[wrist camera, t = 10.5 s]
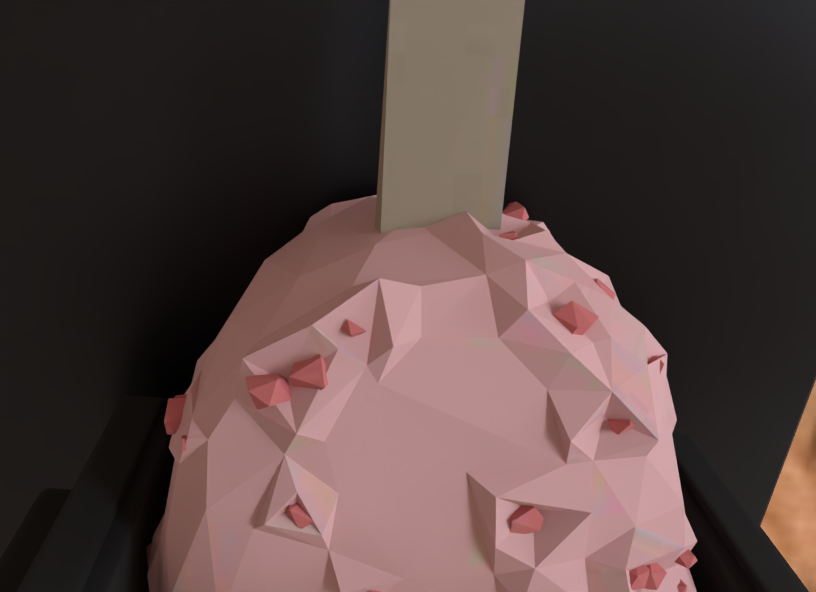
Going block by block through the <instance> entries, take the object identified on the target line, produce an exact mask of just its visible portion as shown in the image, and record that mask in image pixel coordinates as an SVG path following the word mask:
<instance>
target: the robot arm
mask: <svg viewBox="0 0 816 592" xmlns="http://www.w3.org/2000/svg"><path fill="white" fill-rule="evenodd" d="M167 404H168V403H167V399H166V398H159V397H144V396H130V395H125V396H123V397H122V398H121V400H120V402H119V403H118V405H117V407H116V409H115V411H114V413H113V415H112V416H111V418H110V420H109V422H108V424H107V426H106V427H105V429H104V431H103V433H102V435H101V437H100V439H99V440H98V442H97V444H96V446H95V448H94V450H93V451H92V453H91V455H90V457H89V459H88V461H87V463H86V464H85V466H84V468H83V470H82V472H81V474H80V476H79V477H78V479H77V481H76V483H75V485H74V487H73V488H72V489H57V488H47V489H45V490H43V491H42V492H41V493H40V495H39V496H38V497H37V499H36V500H35V502H34V503H33V505H32V507H31V508H30V510H29V512H28V513H27V515H26V517H25V518H24V520H23V522H22V523H21V525H20V527H19V528H18V530H17V532H16V533H15V535H14V537H13V538H12V540H11V542H10V543H9V545H8V547H7V548H6V550H5V552H4V553H3V555H2V557H1V558H0V592H149V584H148V577H147V574H148V567H149V565H147V550H146V547H147V546H149V545H150V544H151V543H152V537H153V535H154V533H155V531H156V529H157V527H158V525H159V523H160V521H161V519H162V517H163V515H164V514H165V509H166V504H167V498H168V493H169V487H170V482H171V476H172V471H173V465H174V460H175V458H174V456H173V455H172V453H171V451H170V449H169V445H170V440H171V436H172V435H169V434H167V433H166V428H165V424H164V419H165V414H166V409H167ZM672 436H673V442H674V448H675V454H676V460H677V466H678V472H679V478H680V484H681V490H682V496H683V502H684V509H685V514H686V517H687V519H688V521H689V523H690V526H691V528H692V530H693V532H694V535H695V537H696V539H697V543H696V544H695V545H694V547H693V548H692V550H691V552H692V553H693V554H694V556H695V557H696V559H697V560H698V561H697V562H696V563H695V564H694V565H693V566H691V567H690V568H689V570H690V573H691V576H692V579H693V582H694V585H695V588H696V591H697V592H809V591H808V590H807V588H806V587H805V586H804V584H803V583H802V582H801V580H800V579H799V578H798V576H797V575H796V574H795V572H794V571H793V570H792V568H791V567H790V566H789V564H788V563H787V562H786V560H785V559H784V558H783V556H782V555H781V554H780V552H779V551H778V550H777V548H776V547H775V546H774V544H773V543H772V542H771V540H770V539H769V537H768V536H767V535H766V533H765V532H764V531H763V529H762V528H761V527H760V525H759V524H758V523H757V521H756V520H755V519H754V517H753V516H752V515H751V513H750V512H749V511H748V509H747V508H746V507H745V505H744V504H743V503H742V501H741V500H740V499H739V497H738V496H737V495H736V493H735V492H734V491H733V489H732V488H731V486H730V485H729V484H728V482H727V481H726V480H725V478H724V477H723V476H722V474H721V473H720V472H719V470H718V469H717V468H716V466H715V465H714V464H713V462H712V461H711V460H710V458H709V457H708V456H707V454H706V453H705V452H704V450H703V449H702V448H701V446H700V445H699V444H698V442H697V441H696V440H695V438H694V437H693V436H691V435H690V434H683V433H672Z"/></svg>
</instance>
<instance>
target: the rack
mask: <svg viewBox="0 0 816 592" xmlns="http://www.w3.org/2000/svg"><path fill="white" fill-rule="evenodd" d="M388 14H389V0H0V558H1V557H2V555H3V553H4V552H5V550H6V548H7V547H8V545H9V543H10V542H11V540H12V538H13V537H14V535H15V533H16V532H17V530H18V528H19V527H20V525H21V523H22V522H23V520H24V518H25V517H26V515H27V513H28V512H29V510H30V508H31V507H32V505H33V503H34V502H35V500H36V499H37V497H38V496H39V495H40V493H41V492H42V491H43V490H45V489H47V488H57V489H72V488H73V487H74V485H75V483H76V481H77V479H78V477H79V476H80V474H81V472H82V470H83V468H84V466H85V464H86V463H87V461H88V459H89V457H90V455H91V453H92V451H93V450H94V448H95V446H96V444H97V442H98V440H99V439H100V437H101V435H102V433H103V431H104V429H105V427H106V426H107V424H108V422H109V420H110V418H111V416H112V415H113V413H114V411H115V409H116V407H117V405H118V403H119V402H120V400H121V398H122V397H123V396H125V395H130V396H144V397H159V398H166V399H167V403H168V399H169V398H174V397H175V396H177V395H184V394H185V393H186V391H187V390H188V388H189V387H190V385H191V384H192V380H193V376H194V372H195V368H196V363H197V360H198V359H199V358H200V357H201V356H202V354H203V353H204V352H205V351H206V350H207V349H208V347H209V346H210V345H211V344H212V343H213V342H214V340H215V339H216V337H217V336H218V334H219V332H220V331H221V329H222V328H223V326H224V324H225V323H226V321H227V320H228V318H229V316H230V315H231V313H232V312H233V310H234V308H235V307H236V305H237V304H238V302H239V301H240V299H241V297H242V296H243V294H244V293H245V291H246V289H247V288H248V286H249V285H250V283H251V281H252V280H253V278H254V277H255V275H256V273H257V272H258V270H259V269H260V267H261V265H262V264H263V262H264V260H265V259H267V258H268V257H269V256H271V255H272V254H273V253H275V252H276V251H278V250H279V249H280V248H282V247H283V246H284V245H286V244H287V243H288V242H290V241H291V240H292V239H294V238H295V237H296V236H298V235H299V234H300V233H302V232H303V230H304V228H305V226H306V224H307V222H308V220H309V218H310V217H311V216H313V215H314V214H316V213H318V212H319V211H321V210H322V209H324V208H326V207H327V206H329V205H330V204H333V203H338V202H343V201H349V200H354V199H359V198H364V197H369V196H374V195H377V185H378V169H379V154H380V138H381V123H382V107H383V92H384V76H385V61H386V45H387V30H388ZM512 202H518V203H519V204H521V205H522V206H524V207H525V209H526V211H527V214H528V216H529V218H528V219H527V220H532V221H540V222H544V224H545V226H546V227H547V229H548V230H550V234H551V235H552V237H553V238H554V240H555V241H556V242H557V243H558V244H559V245H560V247H561V248H562V249H563V250H564V251H565V252H566V253H567V254H569V255H571V256H573V257H574V258H576V259H578V260H580V261H582V262H584V263H586V264H587V265H589V266H591V267H593V268H595V269H597V270H599V271H601V272H602V273H604V274H606V275H608V276H609V278H610V280H611V283H612V285H613V288H614V290H615V293H616V295H617V298H618V300H619V303H620V305H621V307H622V308H624V309H625V310H626V311H627V312H629V313H630V314H631V315H632V316H633V317H635V318H636V319H637V320H638V321H639V322H641V323H642V324H643V325H644V326H645V327H646V328H647V329H648V330H649V332H650V333H651V334H652V335H653V337H654V338H655V339H656V340H657V341H658V343H659V344H660V345H661V346H662V348H663V349H664V350H665V351H666V352H667V380H668V384H669V388H670V393H671V397H672V401H673V405H674V409H675V414H676V418H677V421H676V424H675V427H674V430H673V433H683V434H690V435H691V436H693V437H694V438H695V440H696V441H697V442H698V444H699V445H700V446H701V448H702V449H703V450H704V452H705V453H706V454H707V456H708V457H709V458H710V460H711V461H712V462H713V464H714V465H715V466H716V468H717V469H718V470H719V472H720V473H721V474H722V476H723V477H724V478H725V480H726V481H727V482H728V484H729V485H730V486H731V488H732V489H733V491H734V492H735V493H736V495H737V496H738V497H739V499H740V500H741V501H742V503H743V504H744V505H745V507H746V508H747V509H748V511H749V512H750V513H751V515H752V516H753V517H754V519H755V520H756V521H757V523H758V524H759V525H761V523H762V520H763V518H764V515H765V512H766V510H767V507H768V504H769V502H770V499H771V496H772V494H773V491H774V488H775V486H776V483H777V480H778V478H779V475H780V473H781V470H782V467H783V465H784V462H785V459H786V457H787V454H788V451H789V449H790V446H791V443H792V441H793V438H794V435H795V433H796V430H797V428H798V425H799V422H800V420H801V417H802V414H803V412H804V409H805V406H806V404H807V401H808V398H809V396H810V393H811V391H812V388H813V385H814V383H815V380H816V0H525V5H524V14H523V24H522V33H521V42H520V52H519V61H518V70H517V80H516V89H515V98H514V108H513V117H512V126H511V136H510V145H509V154H508V164H507V173H506V183H505V192H504V201H503V211H504V209H505V208H506V207H507V206H508V204H509V203H512ZM503 211H502V212H503Z"/></svg>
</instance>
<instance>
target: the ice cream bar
mask: <svg viewBox="0 0 816 592" xmlns="http://www.w3.org/2000/svg"><path fill="white" fill-rule="evenodd" d="M524 5H525V0H389V14H388V30H387V45H386V61H385V76H384V92H383V107H382V123H381V138H380V154H379V169H378V185H377V195H374V196H369V197H364V198H359V199H354V200H349V201H343V202H338V203H333V204H330V205H329V206H327V207H326V208H324V209H322V210H321V211H319V212H318V213H316V214H314V215H313V216H311V217H310V218H309V220H308V222H307V224H306V226H305V228H304V230H303V232H302V233H300V234H299V235H298V236H296V237H295V238H294V239H292V240H291V241H290V242H288V243H287V244H286V245H284V246H283V247H282V248H280V249H279V250H278V251H276V252H275V253H273V254H272V255H271V256H269V257H268V258H267V259H265V260H264V262H263V264H262V265H261V267H260V269H259V270H258V272H257V273H256V275H255V277H254V278H253V280H252V281H251V283H250V285H249V286H248V288H247V289H246V291H245V293H244V294H243V296H242V297H241V299H240V301H239V302H238V304H237V305H236V307H235V308H234V310H233V312H232V313H231V315H230V316H229V318H228V320H227V321H226V323H225V324H224V326H223V328H222V329H221V331H220V332H219V334H218V336H217V337H216V339H215V340H214V342H213V343H212V344H211V345H210V346H209V347H208V349H207V350H206V351H205V352H204V353H203V354H202V356H201V357H200V358H199V359H198V360H197V363H196V368H195V372H194V376H193V380H192V384H191V385H190V387H189V388H188V390H187V391H186V393H185V394H184V395H177V396H175V397H174V398H169V399H168V404H167V409H166V414H165V419H164V424H165V428H166V433H167V434H169V435H172V436H171V440H170V445H169V449H170V451H171V453H172V455H173V456H174V458H175V460H174V465H173V471H172V476H171V482H170V487H169V493H168V498H167V504H166V509H165V514H164V515H163V517H162V519H161V521H160V523H159V525H158V527H157V529H156V531H155V533H154V535H153V537H152V543H151V544H150V545H149V546H147V547H146V550H147V565H149V567H148V574H147V577H148V584H149V592H697V591H696V588H695V585H694V582H693V579H692V576H691V573H690V570H689V568H690V567H691V566H693V565H694V564H695V563H696V562H697V561H698V560H697V559H696V557H695V556H694V554H693V553H692V552H691V550H692V548H693V547H694V545H695V544H696V543H697V539H696V537H695V535H694V532H693V530H692V528H691V526H690V523H689V521H688V519H687V517H686V514H685V509H684V502H683V496H682V490H681V484H680V478H679V472H678V466H677V460H676V454H675V448H674V442H673V436H672V433H673V430H674V427H675V424H676V421H677V418H676V414H675V409H674V405H673V401H672V397H671V393H670V388H669V384H668V380H667V352H666V351H665V350H664V349H663V348H662V346H661V345H660V344H659V343H658V341H657V340H656V339H655V338H654V337H653V335H652V334H651V333H650V332H649V330H648V329H647V328H646V327H645V326H644V325H643V324H642V323H641V322H639V321H638V320H637V319H636V318H635V317H633V316H632V315H631V314H630V313H629V312H627V311H626V310H625V309H624V308H622V307H621V305H620V303H619V300H618V298H617V295H616V293H615V290H614V288H613V285H612V283H611V280H610V278H609V276H608V275H606V274H604V273H602V272H601V271H599V270H597V269H595V268H593V267H591V266H589V265H587V264H586V263H584V262H582V261H580V260H578V259H576V258H574V257H573V256H571V255H569V254H567V253H566V252H565V251H564V250H563V249H562V248H561V247H560V245H559V244H558V243H557V242H556V241H555V240H554V238H553V237H552V235H551V234H550V230H548V229H547V227H546V226H545V224H544V222H540V221H532V220H527V219H528V218H529V216H528V214H527V211H526V209H525V207H524V206H522V205H521V204H519V203H518V202H512V203H509V204H508V206H507V207H506V208H505V209H504V211H503V201H504V192H505V183H506V173H507V164H508V154H509V145H510V136H511V126H512V117H513V108H514V98H515V89H516V80H517V70H518V61H519V52H520V42H521V33H522V24H523V14H524ZM502 211H503V212H502Z"/></svg>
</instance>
